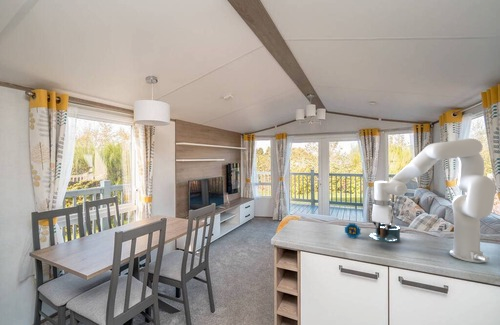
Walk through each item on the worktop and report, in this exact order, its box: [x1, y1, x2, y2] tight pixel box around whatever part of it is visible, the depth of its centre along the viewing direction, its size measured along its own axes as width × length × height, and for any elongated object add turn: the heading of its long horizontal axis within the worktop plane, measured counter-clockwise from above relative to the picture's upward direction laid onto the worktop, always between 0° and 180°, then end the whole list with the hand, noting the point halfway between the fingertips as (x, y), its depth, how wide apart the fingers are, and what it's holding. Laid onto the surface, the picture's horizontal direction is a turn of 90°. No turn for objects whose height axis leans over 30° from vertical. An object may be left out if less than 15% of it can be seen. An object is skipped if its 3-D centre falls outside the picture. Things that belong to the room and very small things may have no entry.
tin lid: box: [368, 227, 397, 243], centre depth 124 cm, size 14×14×7 cm
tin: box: [375, 223, 401, 244], centre depth 136 cm, size 13×13×8 cm
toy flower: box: [344, 222, 362, 239], centre depth 145 cm, size 9×9×18 cm
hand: (382, 234), depth 124 cm, fingers closed on tin lid, 2 cm apart
